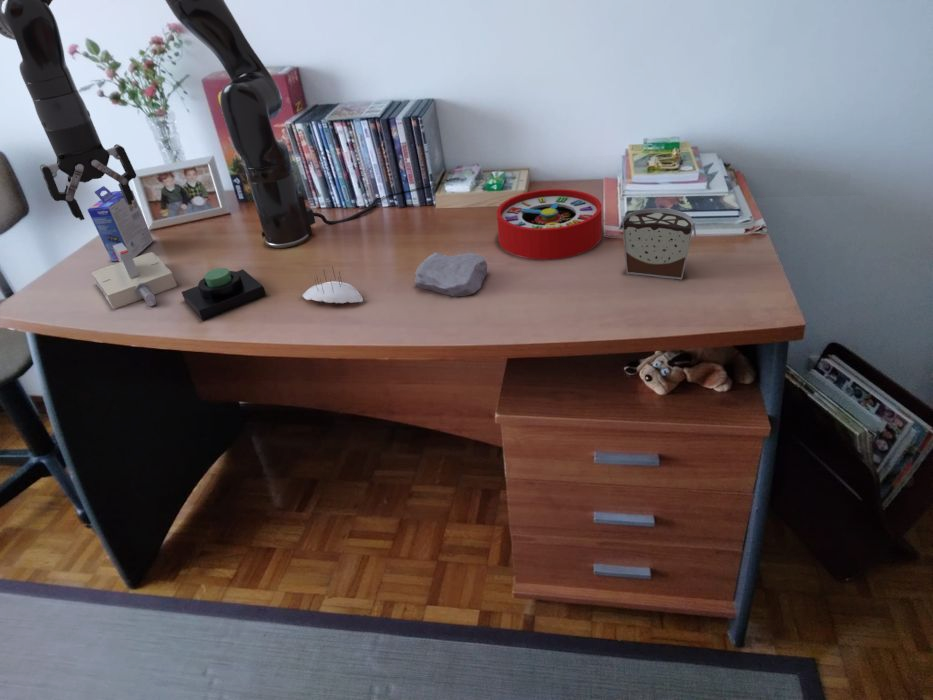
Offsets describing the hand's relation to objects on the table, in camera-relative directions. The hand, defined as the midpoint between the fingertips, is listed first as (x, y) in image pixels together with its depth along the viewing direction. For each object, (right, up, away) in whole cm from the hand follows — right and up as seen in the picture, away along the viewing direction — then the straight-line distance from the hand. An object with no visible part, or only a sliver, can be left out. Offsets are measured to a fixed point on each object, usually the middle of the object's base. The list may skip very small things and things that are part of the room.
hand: (105, 211), depth 124 cm
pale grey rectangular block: (+1, -10, +8) cm, 13 cm away
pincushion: (+43, -17, -4) cm, 46 cm away
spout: (+7, -16, +2) cm, 18 cm away
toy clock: (+83, -3, +9) cm, 83 cm away
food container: (+99, -12, -7) cm, 100 cm away
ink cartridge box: (-7, -4, +25) cm, 26 cm away
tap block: (+1, -13, +9) cm, 16 cm away
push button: (+22, -13, -2) cm, 25 cm away
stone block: (+63, -14, -4) cm, 65 cm away
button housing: (+22, -16, 0) cm, 27 cm away
